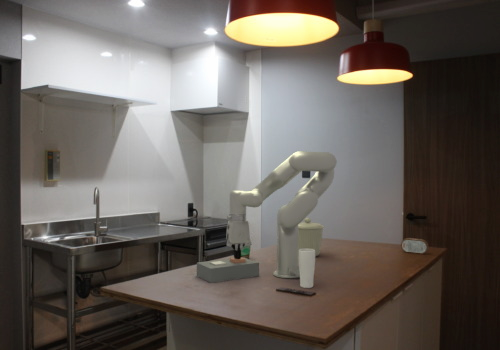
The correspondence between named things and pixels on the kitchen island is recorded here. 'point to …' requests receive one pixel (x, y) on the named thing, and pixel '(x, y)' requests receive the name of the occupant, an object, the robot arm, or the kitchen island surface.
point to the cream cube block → (217, 263)
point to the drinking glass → (306, 267)
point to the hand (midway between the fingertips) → (237, 258)
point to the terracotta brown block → (237, 260)
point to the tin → (415, 245)
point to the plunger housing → (227, 270)
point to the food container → (246, 250)
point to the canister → (310, 236)
